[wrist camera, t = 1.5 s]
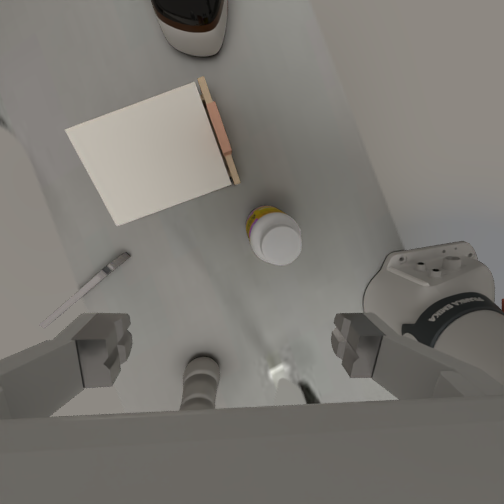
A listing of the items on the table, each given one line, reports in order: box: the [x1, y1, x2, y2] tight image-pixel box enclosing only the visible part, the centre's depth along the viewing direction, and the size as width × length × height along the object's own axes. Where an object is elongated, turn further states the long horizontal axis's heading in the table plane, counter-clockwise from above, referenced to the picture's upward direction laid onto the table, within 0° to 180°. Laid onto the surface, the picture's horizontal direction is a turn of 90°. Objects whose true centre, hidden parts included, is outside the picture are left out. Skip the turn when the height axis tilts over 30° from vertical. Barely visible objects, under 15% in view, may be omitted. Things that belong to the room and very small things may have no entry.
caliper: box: [40, 252, 130, 328], centre depth 36 cm, size 20×1×6 cm, turn 128°
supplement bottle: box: [246, 206, 302, 266], centre depth 32 cm, size 7×7×13 cm
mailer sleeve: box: [65, 82, 232, 226], centre depth 31 cm, size 16×12×6 cm
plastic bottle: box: [179, 357, 220, 411], centre depth 36 cm, size 6×7×20 cm
